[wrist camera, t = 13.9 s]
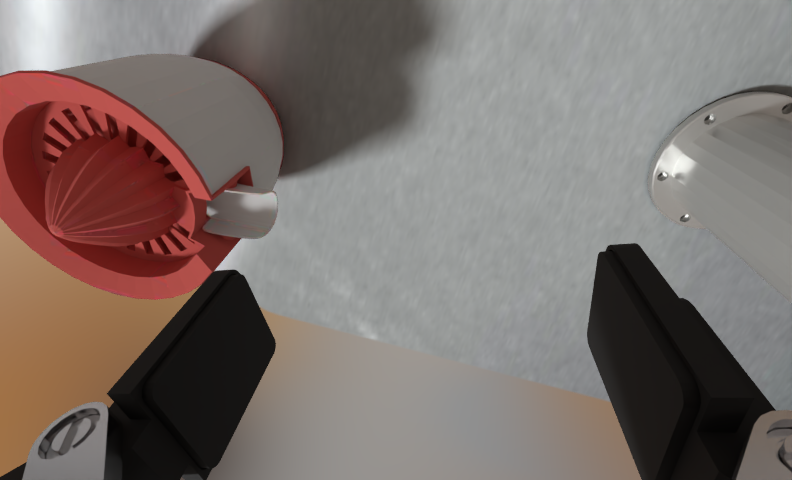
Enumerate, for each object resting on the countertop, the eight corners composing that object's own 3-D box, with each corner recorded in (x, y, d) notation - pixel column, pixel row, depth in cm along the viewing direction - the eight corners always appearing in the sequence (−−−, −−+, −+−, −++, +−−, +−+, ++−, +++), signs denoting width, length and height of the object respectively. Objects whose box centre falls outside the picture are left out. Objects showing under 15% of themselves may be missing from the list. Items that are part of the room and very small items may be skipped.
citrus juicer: (309, 218, 42) (221, 363, 26) (157, 173, 41) (-38, 293, 25) (334, 76, 34) (226, 154, 17) (142, 14, 33) (-174, 34, 16)
